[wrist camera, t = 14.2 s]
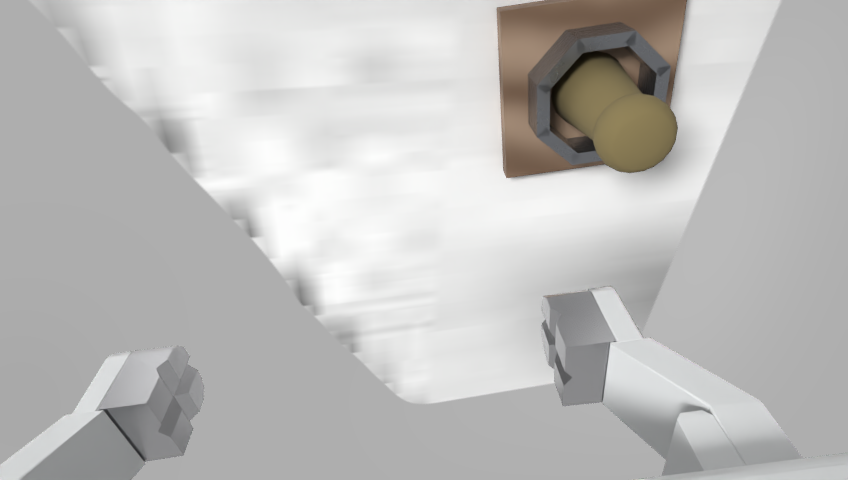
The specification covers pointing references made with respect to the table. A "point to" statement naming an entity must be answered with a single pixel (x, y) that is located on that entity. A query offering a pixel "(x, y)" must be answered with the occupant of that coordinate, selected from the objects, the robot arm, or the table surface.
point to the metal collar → (563, 57)
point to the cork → (615, 113)
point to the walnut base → (575, 8)
